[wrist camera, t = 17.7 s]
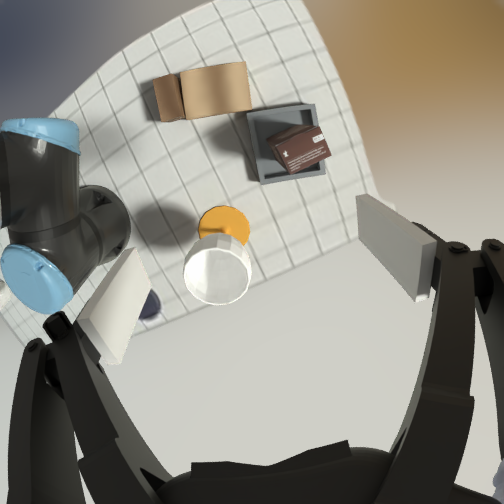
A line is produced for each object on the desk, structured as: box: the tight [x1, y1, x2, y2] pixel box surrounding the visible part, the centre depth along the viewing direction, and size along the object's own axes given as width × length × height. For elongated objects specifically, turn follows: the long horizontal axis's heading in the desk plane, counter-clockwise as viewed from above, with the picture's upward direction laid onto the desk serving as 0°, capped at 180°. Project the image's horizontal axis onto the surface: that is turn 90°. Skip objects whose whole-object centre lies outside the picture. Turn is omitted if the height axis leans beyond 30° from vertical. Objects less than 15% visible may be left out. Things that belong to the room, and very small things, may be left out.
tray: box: [246, 104, 326, 185], centre depth 40 cm, size 11×12×2 cm
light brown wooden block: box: [180, 61, 252, 120], centre depth 37 cm, size 10×8×3 cm
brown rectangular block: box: [153, 74, 186, 122], centre depth 35 cm, size 3×7×5 cm, turn 11°
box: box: [266, 124, 331, 175], centre depth 36 cm, size 6×4×12 cm
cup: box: [183, 206, 252, 305], centre depth 41 cm, size 9×9×16 cm
